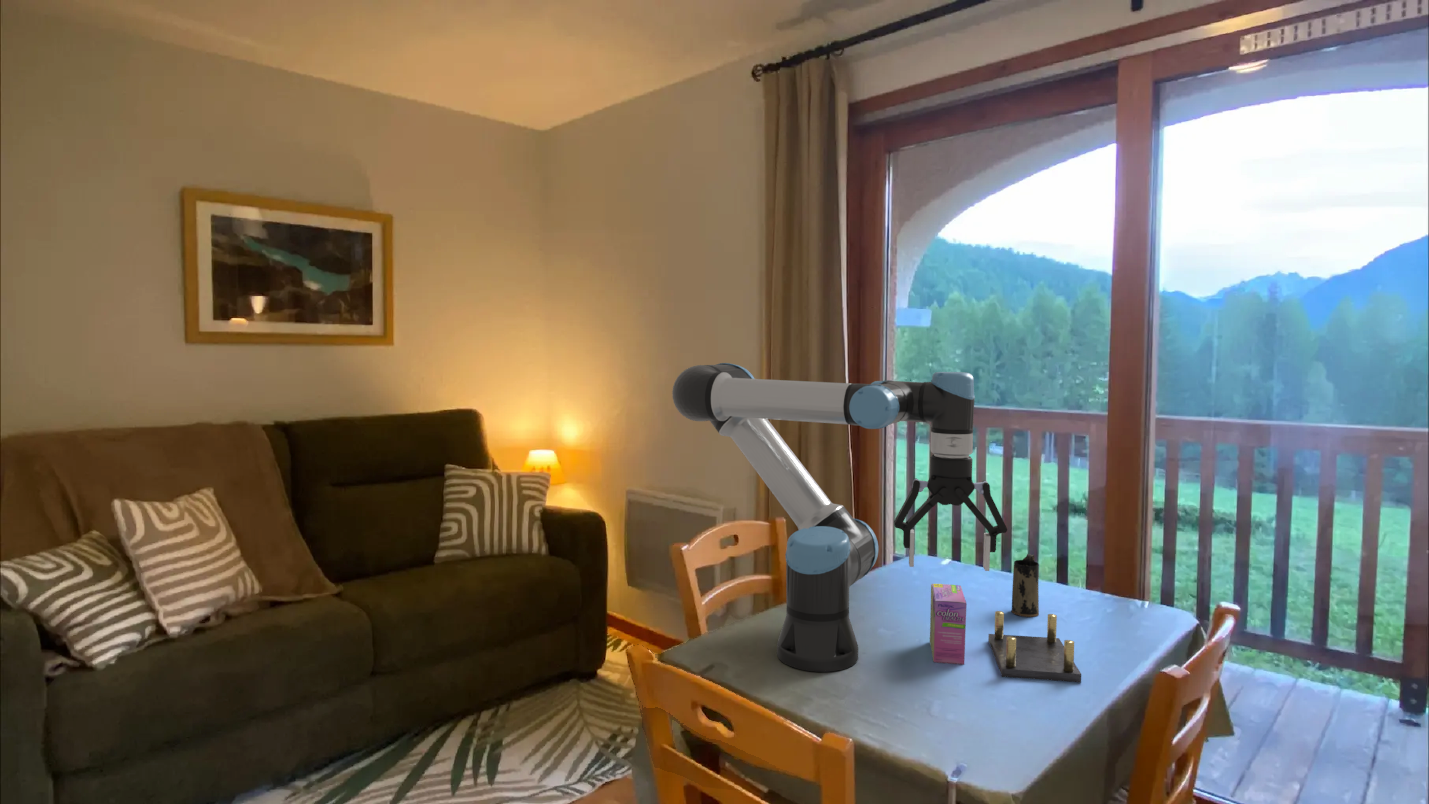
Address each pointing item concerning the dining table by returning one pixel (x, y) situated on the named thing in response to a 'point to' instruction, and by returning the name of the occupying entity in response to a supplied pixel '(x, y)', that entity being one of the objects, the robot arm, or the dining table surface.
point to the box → (947, 623)
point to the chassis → (1033, 654)
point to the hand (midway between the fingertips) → (948, 567)
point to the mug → (1025, 587)
